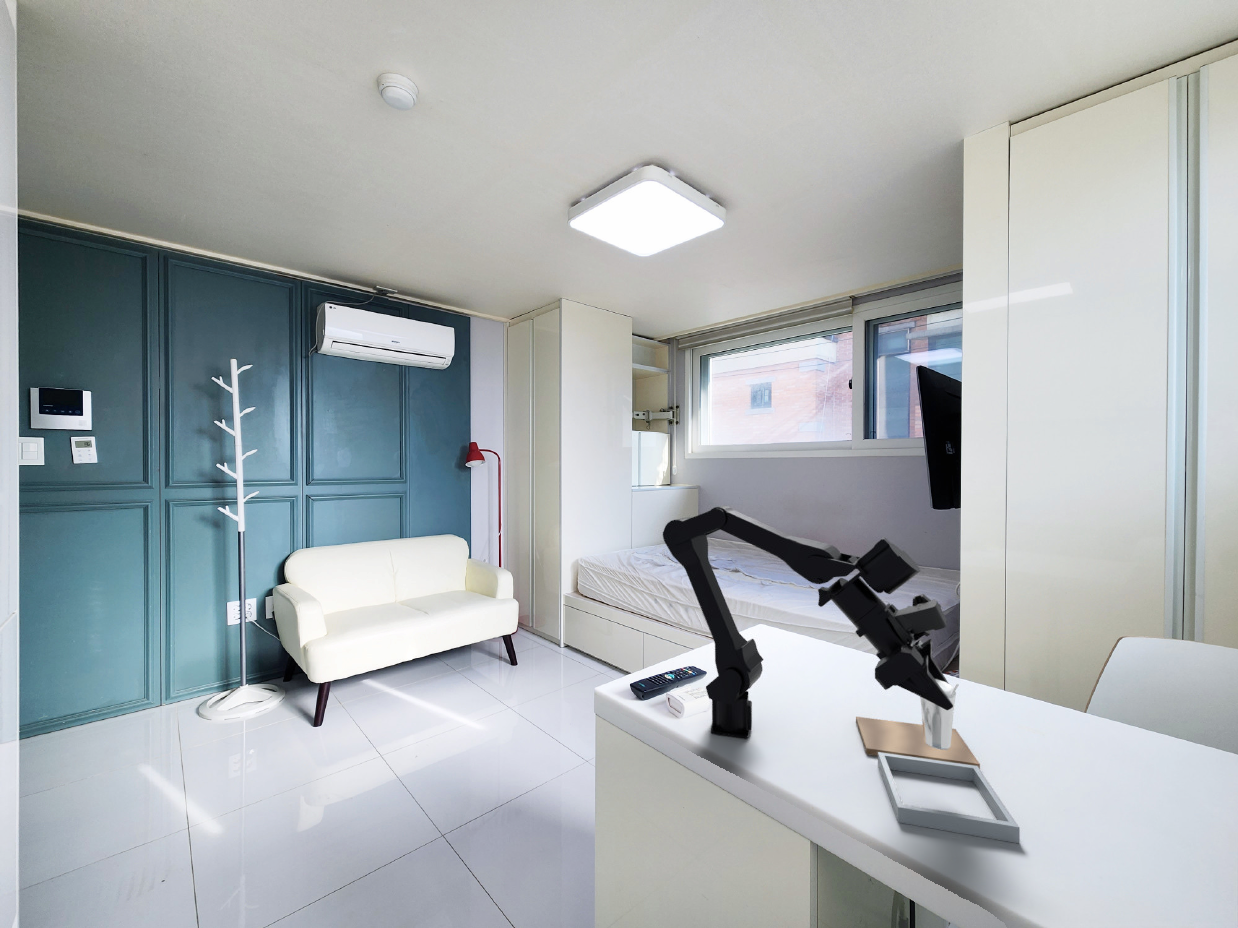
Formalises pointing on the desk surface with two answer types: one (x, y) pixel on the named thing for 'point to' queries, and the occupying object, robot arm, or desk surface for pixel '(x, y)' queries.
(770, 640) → the desk surface
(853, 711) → the desk surface
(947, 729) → the milkshake
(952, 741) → the board
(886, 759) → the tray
